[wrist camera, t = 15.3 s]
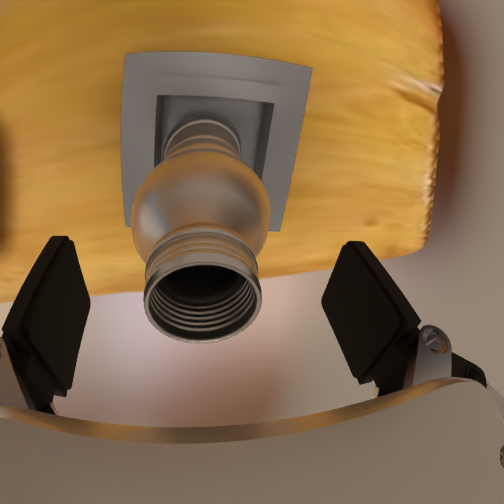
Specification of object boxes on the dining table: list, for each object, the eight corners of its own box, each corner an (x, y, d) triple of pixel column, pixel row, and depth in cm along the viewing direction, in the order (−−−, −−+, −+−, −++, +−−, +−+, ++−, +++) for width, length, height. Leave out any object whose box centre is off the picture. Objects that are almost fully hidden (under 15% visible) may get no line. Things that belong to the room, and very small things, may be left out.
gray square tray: (128, 54, 18) (111, 50, 14) (308, 68, 22) (330, 68, 18) (127, 222, 28) (116, 248, 24) (277, 227, 32) (289, 252, 28)
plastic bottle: (252, 140, 25) (349, 288, 9) (203, 189, 27) (213, 381, 11) (202, 95, 21) (189, 148, 5) (153, 150, 24) (69, 316, 8)
